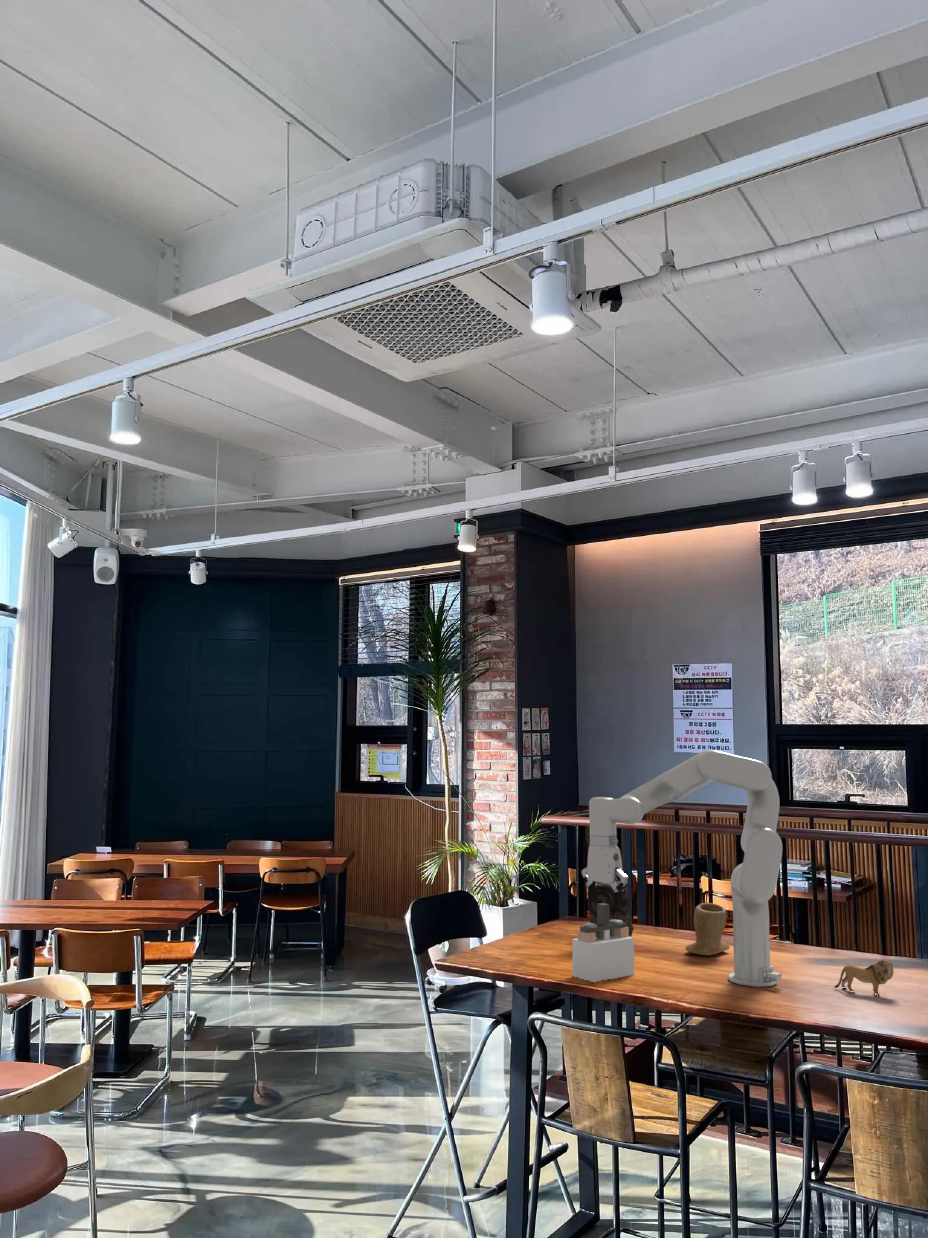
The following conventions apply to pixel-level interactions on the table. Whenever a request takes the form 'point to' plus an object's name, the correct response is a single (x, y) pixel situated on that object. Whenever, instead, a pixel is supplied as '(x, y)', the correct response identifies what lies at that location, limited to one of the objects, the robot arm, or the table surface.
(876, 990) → the lion figurine
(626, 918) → the owl
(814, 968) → the table surface
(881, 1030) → the table surface
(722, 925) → the stone cup
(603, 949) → the white toy brick
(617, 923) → the bar with two balls
